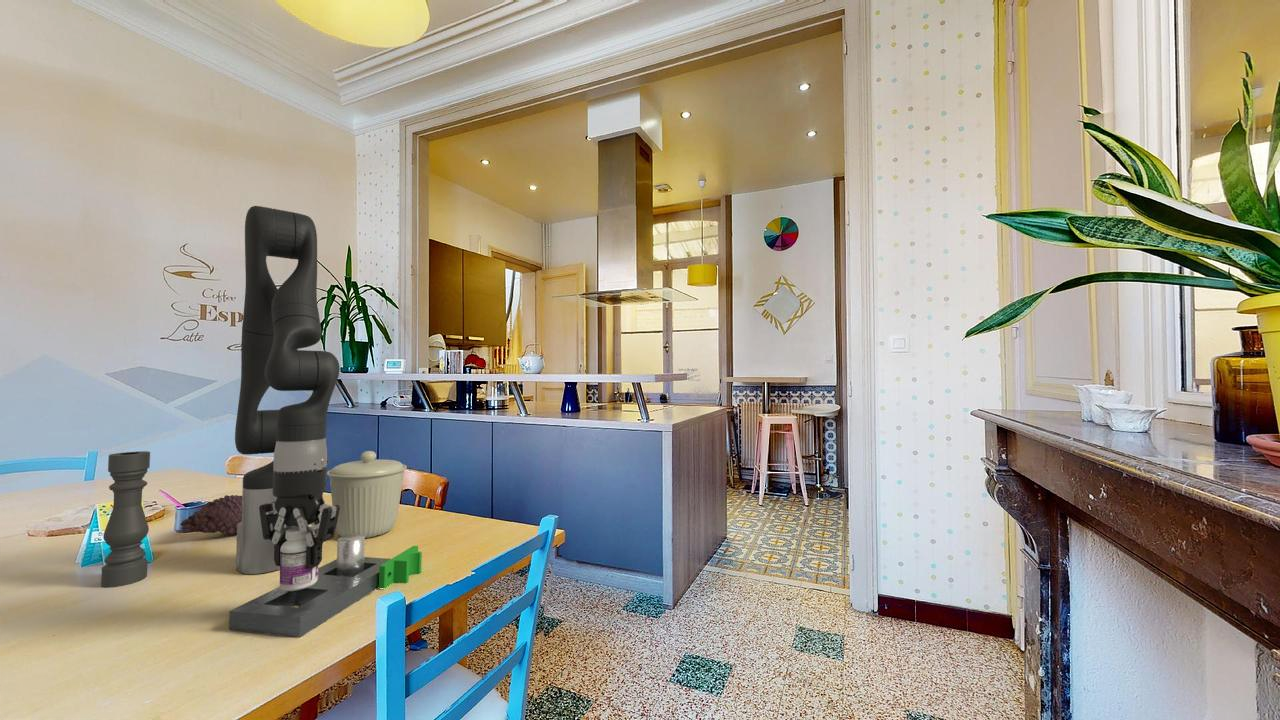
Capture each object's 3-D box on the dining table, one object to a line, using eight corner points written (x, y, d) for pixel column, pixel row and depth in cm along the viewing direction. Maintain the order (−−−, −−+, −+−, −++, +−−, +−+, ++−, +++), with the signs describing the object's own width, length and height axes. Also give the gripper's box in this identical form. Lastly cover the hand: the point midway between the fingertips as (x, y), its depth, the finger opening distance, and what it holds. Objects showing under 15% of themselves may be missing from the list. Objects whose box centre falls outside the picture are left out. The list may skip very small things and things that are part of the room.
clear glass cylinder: (330, 588, 91) (331, 541, 92) (348, 578, 96) (349, 533, 96) (351, 590, 91) (352, 542, 91) (369, 580, 95) (370, 534, 95)
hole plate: (228, 629, 77) (229, 610, 77) (344, 569, 100) (344, 555, 100) (299, 637, 74) (300, 617, 75) (400, 574, 98) (400, 559, 98)
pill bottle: (292, 579, 84) (294, 523, 85) (324, 578, 85) (325, 523, 85) (271, 592, 79) (273, 533, 79) (305, 591, 79) (306, 532, 80)
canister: (306, 542, 116) (309, 455, 117) (361, 520, 134) (363, 445, 135) (372, 547, 113) (374, 458, 114) (419, 524, 131) (421, 447, 132)
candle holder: (153, 577, 96) (158, 452, 97) (109, 589, 90) (114, 457, 91) (138, 572, 99) (143, 450, 99) (95, 583, 93) (100, 454, 94)
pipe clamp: (396, 591, 91) (397, 567, 91) (378, 590, 91) (379, 566, 92) (429, 567, 102) (429, 545, 102) (412, 566, 103) (413, 545, 103)
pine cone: (184, 549, 111) (185, 506, 111) (175, 540, 117) (176, 499, 117) (276, 530, 125) (277, 491, 126) (263, 523, 131) (264, 486, 132)
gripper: (243, 468, 80) (240, 571, 79) (319, 471, 77) (316, 577, 77) (284, 460, 87) (281, 555, 86) (354, 463, 85) (351, 560, 84)
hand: (297, 565), depth 82 cm, fingers closed on pill bottle, 5 cm apart
